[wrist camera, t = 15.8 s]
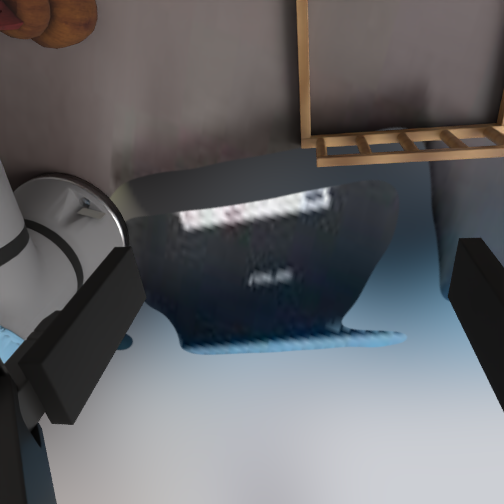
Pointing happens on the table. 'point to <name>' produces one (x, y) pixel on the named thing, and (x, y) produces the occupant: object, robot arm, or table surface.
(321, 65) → the table surface
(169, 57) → the table surface
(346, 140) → the drying rack
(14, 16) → the wooden figurine
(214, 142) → the table surface
